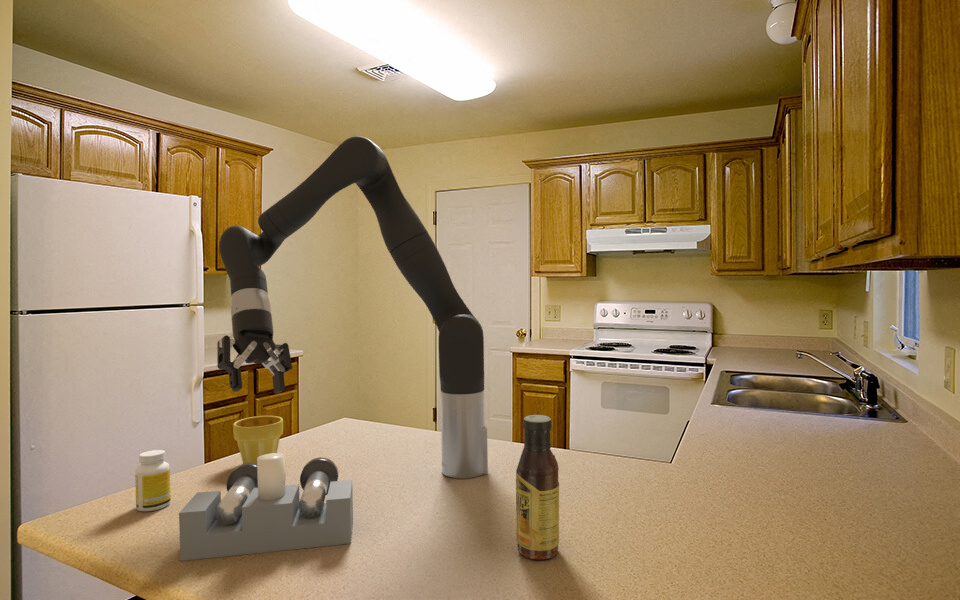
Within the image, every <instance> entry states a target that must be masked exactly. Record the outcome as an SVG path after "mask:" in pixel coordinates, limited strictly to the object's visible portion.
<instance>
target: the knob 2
mask: <svg viewBox="0 0 960 600" xmlns="http://www.w3.org/2000/svg"><path fill="white" fill-rule="evenodd" d="M333 481H339V470H338V467H337V465H336V463H335V462H334V461H333V460H331V459H330V458H327V457H321V456H320V457H316V458H315V457H314V458H312V459H311V460H309V461H308V462H306V463H305V465H304V466H303V468H302V470H301V473H300V476H299V485H300V488H301V489H302V490H303V491H302V494H301V497H300V498H299V500H300V502H299V511H300V512H301V514H302V515H304V516H306V517H314V516H316V515H318V514H319V513H320V512H321V510H322V508H323V504H324V503H325V501H326V497H327V495H328V491H329V487H330V482H333Z"/></svg>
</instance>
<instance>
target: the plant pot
mask: <svg viewBox="0 0 960 600" xmlns="http://www.w3.org/2000/svg"><path fill="white" fill-rule="evenodd" d="M232 428H233V429H232V431H233V434H232V435H233V439H234V441H236V442H237V446H238V450H239V454H240V457H241V461H242V464H244V463H256V464H257V458H258V457H259V456H262V455H265V454H270V453H278V448H279V444H280V438H281V436H282V435H283V434H284V419H283V417H281V416H278V415H277V416H276V415H257V416H251V417H245V418H242V419H238V420H236V421H234V423H232Z"/></svg>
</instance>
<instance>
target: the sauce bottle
mask: <svg viewBox="0 0 960 600" xmlns="http://www.w3.org/2000/svg"><path fill="white" fill-rule="evenodd" d="M552 424H553V422H552V418H551V417H549V416H548V415H543V414H532V415H531V414H529V415H526V416H525V417H524V418H523V423H522V425H523V428H524V429H523V430H524V442H523V443H524V445H523V449H522V452H521V455H520V458H519V462H518V465H517V467H516V469H515V470H516V471H515V486H516V487H515V490H516V491H515V492H516V493H515V504H516V505H515V507H516V509H515V512H516V515H515V517H516V518H515V521H516V523H515V524H516V525H515V526H516V527H515V528H516V532H515V533H516V534H515V535H516V542H517V550H518V552H519V553H520V555H523V556H524V557H525V558H527V559H528V560H536V561H541V560H549V559H552V558H554V557H556V556H557V554H558V551H559V544H560V482H559V463H558V461H557V459H556V455H554V454H553V452H552V450H551V447H552V443H551V429H552V427H553V426H552Z"/></svg>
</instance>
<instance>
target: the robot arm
mask: <svg viewBox="0 0 960 600" xmlns="http://www.w3.org/2000/svg"><path fill="white" fill-rule="evenodd" d="M354 184H355V185H356V186H357V187H358V188H359V190H360V191H361V192H362V194H363V195H364V197H365V199H366V200H367V201H368V203H369V204H370V206H371V208H372V210H373V212H374V214H375V217H376V218H377V219H376V221H377V223H378V227H379V229H380V230H379V231H380V233H381V236H382V239H383V242H384V244H385V246H386V248H387V251H388V253H389V254H390V256H391V257H392V260H393V261H394V264H395V265H396V267H397V268H398V270H399V272H400V273H401V275H402V276H403V277H404V279H405V280H406V281H407V283H408V284H409V285H410V287H411V288H412V289H413V291H415V293H416V294H417V295H418V296H419V298H420V299H421V300H422V302H423V303H424V304H425V306H426V307H427V310H428V311H429V313H430V315H431V317H432V319H433V322H434V323H435V326H436V328H437V330H438V367H439V368H438V369H439V371H438V373H439V382H440V386H439V387H440V423H441V425H440V427H441V428H440V431H441V439H440V440H441V471H442V474H443V475H444V476H446V477H447V478H448V477H450V478H454V479H471V478H476V477H480V476H482V475H488V474H489V467H488V466H489V463H488V459H489V458H488V455H489V453H488V452H489V451H488V428H487V427H486V422H485V421H486V418H485V416H486V415H485V413H486V412H485V411H486V410H485V407H486V406H485V345H484V343H485V341H484V340H485V339H484V330H483V326H482V325H481V323H480V322H479V320H478V318H476V317H475V316H474V314H473V312H472V311H471V310H470V309H469V307H468V306H467V305H466V303H465V301H464V300H463V299H462V297H461V296H460V294H459V292H458V291H457V289H456V287H455V285H454V283H453V281H452V278H451V275H450V272H448V269H447V266H446V264H445V262H444V260H443V258H442V256H441V254H440V251H439V250H438V248H437V245H436V244H435V242H434V241H433V238H432V237H431V235H430V233H429V231H428V230H427V228H426V227H425V225H424V223H423V222H422V220H421V218H420V217H419V215H418V214H417V213H416V210H415V209H414V208H413V207H412V205H411V204H410V202H409V201H408V200H407V198H406V196H405V195H404V193H403V191H402V189H401V188H400V186H399V183H398V182H397V179H396V177H395V175H394V172H393V169H392V166H391V165H390V163H389V161H388V159H387V156H386V153H385V152H384V151H383V150H382V149H381V148H380V147H379V146H378V144H376V143H374V142H373V141H372V140H370V139H369V138H367V137H365V136H360V135H357V136H356V135H355V136H350V137H349V138H347V139H345V140H344V141H343V142H342V143H340V144H339V145H338V146H337V148H336V149H334V151H332V153H331V154H329V155H328V157H327V158H326V159H325V160H324V161H323V162H322V163H321V164H320V165H319V166H318V167H317V168H316V169H315V170H314V171H313V172H312V173H311V174H310V175H309V176H307V178H306V179H304V180H303V181H302V182H301V183H300V184H299V185H298V186H296V187H295V188H294V189H293V190H291V191H290V192H289V193H287V194H286V195H285V196H284V197H282V198H281V199H279V200H278V201H276V202H275V203H274V204H272V205H271V206H270V207H269V208H267V209H266V210H264V211H263V212H262V213H261V214H260V215H259V216H258V219H257V224H258V226H259V228H260V229H261V231H262V232H261V233H259V234H258V235H257V234H255V233H254V232H252V231H250V230H248V229H247V228H245V227H243V226H241V225H240V226H239V225H232V226H230V227H227V228H226V229H225V230H224V231H223V232H222V234H221V236H220V238H219V242H218V243H219V245H218V246H219V247H218V248H219V249H218V250H219V255H220V259H221V260H222V264H223V266H224V269H225V271H226V274H227V276H228V278H229V281H230V282H229V283H230V284H229V285H230V297H231V300H230V318H231V327H232V337H233V338H231V337H230V336H229V335H224V336H223V337H222V338H220V339H219V340H218V341H217V343H216V344H217V348H216V349H217V352H216V353H217V356H216V357H217V360H216V361H217V365H216V366H217V367H216V368H218V369H219V370H225V371H226V372H227V373H228V381H229V383H228V384H229V387H230V389H232V392H239V391H241V390H242V388H243V381H242V380H243V379H242V370H241V369H239V368H240V367H241V366H242V365H243V364H244V362H245V364H256V365H263V367H264V368H265V369H267V370H269V372H270V373H271V375H272V376H271V377H272V378H271V379H272V386H273V387H272V388H273V393H274V394H280V393H282V392H283V391H284V389H285V387H286V384H285V376H284V375H286V374H287V373H288V372H289V371H291V370H292V369H293V365H292V359H291V353H290V352H291V351H290V346H289V344H288V343H287V342H284V343H282V344H278V343H277V344H276V343H275V342H274V339H273V338H274V337H273V336H274V325H273V316H272V315H273V314H272V305H271V301H270V297H269V292H268V282H267V278H266V277H267V276H266V274H265V272H264V271H263V270H262V269H261V268H260V267H261V266H263V265H265V264H266V263H267V262H268V261H270V259H271V258H272V257H273V256H274V254H275V253H276V252H277V250H278V249H279V248H280V247H281V245H283V242H284V241H285V240H286V239H287V238H289V237H290V236H292V235H293V234H294V233H295V232H297V231H298V230H300V229H301V228H302V227H303V226H305V225H306V224H307V223H308V222H309V221H311V220H312V219H313V218H314V216H315V215H316V214H317V213H318V212H319V211H320V210H321V209H322V207H323V206H324V205H325V204H326V202H327V201H328V200H330V199H331V198H332V197H333V196H335V195H336V194H337V193H339V192H340V191H342V190H344V189H346V188H348V187H349V186H352V185H354ZM232 348H233V349H234V351H235V352H236V353H237V354H236V356H235V357H234V359H233V360H232V361H231V349H232ZM269 360H270V361H269Z"/></svg>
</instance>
